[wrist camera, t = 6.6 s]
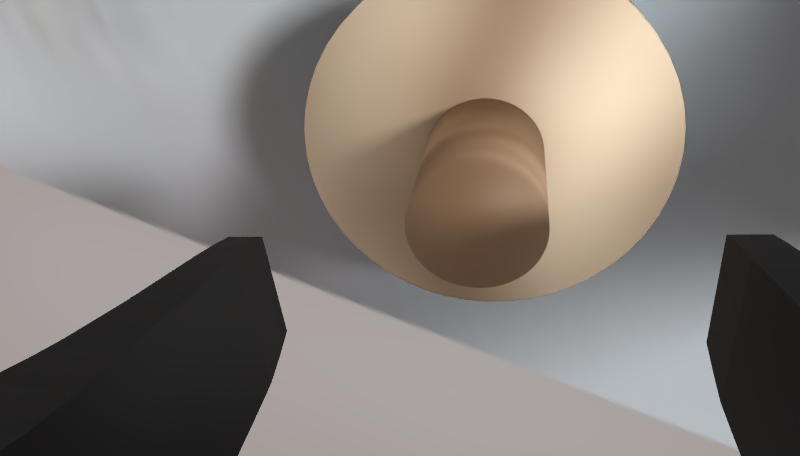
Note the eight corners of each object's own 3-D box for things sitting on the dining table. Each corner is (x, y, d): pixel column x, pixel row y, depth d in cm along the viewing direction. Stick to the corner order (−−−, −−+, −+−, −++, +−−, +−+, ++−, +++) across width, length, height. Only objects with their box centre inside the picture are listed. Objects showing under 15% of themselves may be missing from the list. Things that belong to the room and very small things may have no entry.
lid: (709, -68, 13) (785, -31, 9) (651, 289, 17) (686, 409, 14) (285, -41, 14) (205, -1, 11) (337, 279, 19) (294, 382, 15)
